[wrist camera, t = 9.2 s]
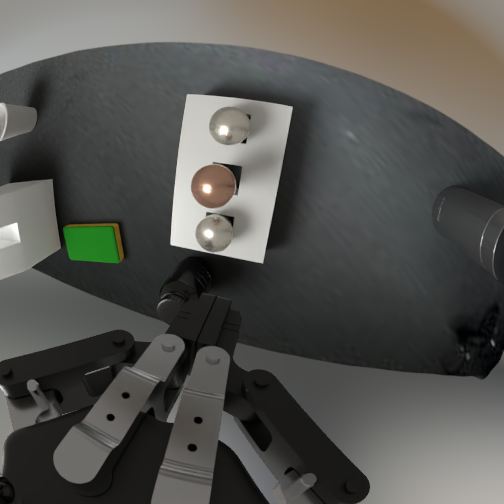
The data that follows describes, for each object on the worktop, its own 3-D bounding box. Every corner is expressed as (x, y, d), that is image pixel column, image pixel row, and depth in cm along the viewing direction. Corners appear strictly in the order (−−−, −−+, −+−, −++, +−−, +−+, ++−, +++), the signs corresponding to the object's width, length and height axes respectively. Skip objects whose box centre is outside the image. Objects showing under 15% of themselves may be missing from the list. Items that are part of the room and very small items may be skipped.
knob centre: (244, 164, 33) (237, 168, 27) (238, 201, 34) (230, 211, 29) (207, 159, 33) (193, 162, 28) (202, 195, 35) (188, 204, 30)
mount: (291, 111, 35) (292, 106, 30) (265, 250, 44) (262, 263, 39) (198, 99, 35) (187, 94, 31) (181, 233, 44) (170, 244, 40)
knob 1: (256, 114, 33) (252, 109, 28) (250, 147, 35) (245, 147, 30) (222, 109, 34) (212, 104, 28) (216, 142, 35) (206, 142, 30)
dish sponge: (69, 223, 47) (62, 227, 44) (119, 222, 45) (112, 226, 43) (76, 255, 49) (69, 259, 47) (125, 258, 48) (119, 263, 46)
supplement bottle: (186, 294, 49) (162, 335, 38) (171, 261, 46) (141, 297, 35) (220, 286, 47) (202, 329, 36) (205, 252, 45) (181, 287, 34)
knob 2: (240, 210, 39) (233, 221, 34) (235, 241, 41) (228, 255, 36) (208, 204, 39) (197, 214, 34) (204, 235, 41) (193, 248, 36)
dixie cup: (40, 133, 39) (6, 138, 30) (21, 140, 40) (-11, 146, 31) (41, 97, 36) (7, 97, 27) (21, 107, 37) (-10, 109, 27)
